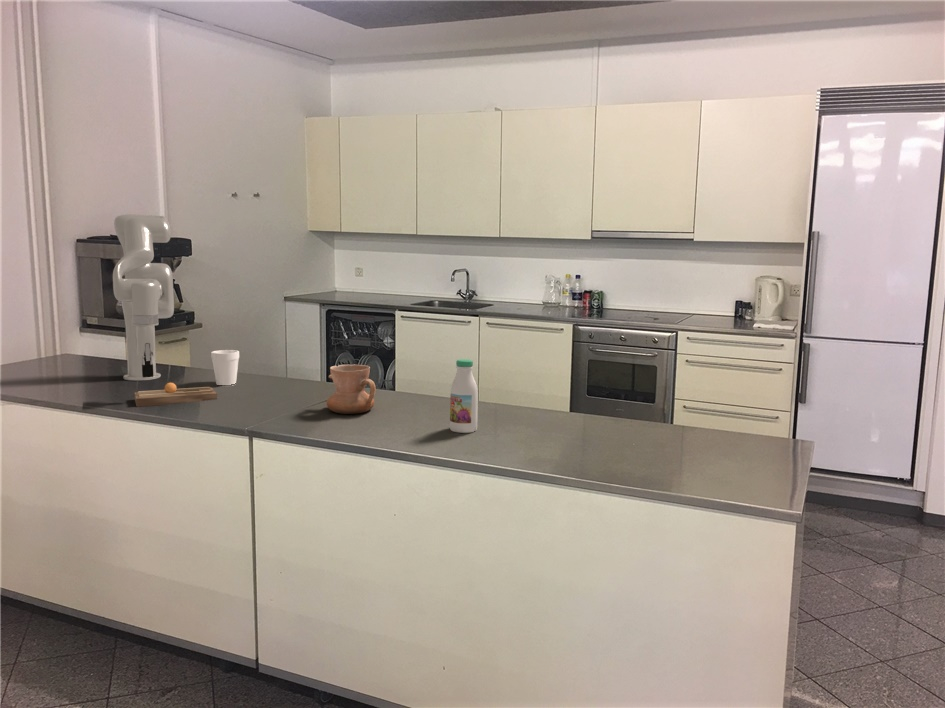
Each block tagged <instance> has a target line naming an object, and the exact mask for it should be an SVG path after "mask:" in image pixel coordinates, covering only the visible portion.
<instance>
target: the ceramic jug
mask: <svg viewBox="0 0 945 708" xmlns="http://www.w3.org/2000/svg"><path fill="white" fill-rule="evenodd" d="M329 371H330V374H329V375H328V378H329V379H331V380H332V382H333V385H334V387H335V389H336V391H335V392H334V393H333V394H332V395H330V396H329V397H328V398H327V400H326V406H327V408H328V409H329V411H331V412H333V413H337V414H341V415H357V414H363V413H366V412H368V411H370V410H371V409H373V407H374V406H375V399H374V397H375V395H376V384H375V382H374V381H373V380H372V379H370V378H369V377H370V371H371V366H369V365H364V364H338V366H337V365H333V366H330V367H329ZM367 384H368V385H369V393H367V392H366V391H365V389H366V386H367Z"/></svg>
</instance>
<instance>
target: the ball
mask: <svg viewBox="0 0 945 708" xmlns="http://www.w3.org/2000/svg"><path fill="white" fill-rule="evenodd" d="M176 389H177V385H176V384H175V383H174V382H167V383H165V385H164V390H165V391H166V392H167V393H174V392H175V391H176Z"/></svg>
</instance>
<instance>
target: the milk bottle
mask: <svg viewBox="0 0 945 708" xmlns="http://www.w3.org/2000/svg"><path fill="white" fill-rule="evenodd" d="M473 365H474V360H472V359H468V358H467V359H466V358H464V359H463V358H461V359H456V367H455V368H456V369H457V370H456V373H455V376H454V379H453V381H452V383H451V386H450V394H449V395H450V398H449V399H450V404H449V405H450V406H449V429H450V431H452V432H454V433H458V434H459V433H460V434H461V433H463V434H468V433H474V431H475V432H476V431H477V430H478V406H479V403H478V402H479V401H478V400H479V398H478V397H479V395H478V394H479V393H478V391H479V390H478V385H477V383H476V380H475V377H474V375H473Z"/></svg>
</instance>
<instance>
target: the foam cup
mask: <svg viewBox="0 0 945 708" xmlns="http://www.w3.org/2000/svg"><path fill="white" fill-rule="evenodd" d="M210 353H211V354H210V357H211V360H212V366H213V371H214V378H215V384H216V386H217V385H231V384H235V383H236V384H237V377H238V370H239V369H238V367H239V360H240V351H239V350H237V349H236V350H234V349H222V350H221V349H220V350H219V349H218V350H213V351H211V352H210ZM236 384H235V385H236Z"/></svg>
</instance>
